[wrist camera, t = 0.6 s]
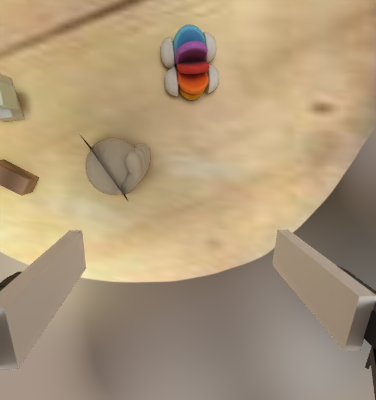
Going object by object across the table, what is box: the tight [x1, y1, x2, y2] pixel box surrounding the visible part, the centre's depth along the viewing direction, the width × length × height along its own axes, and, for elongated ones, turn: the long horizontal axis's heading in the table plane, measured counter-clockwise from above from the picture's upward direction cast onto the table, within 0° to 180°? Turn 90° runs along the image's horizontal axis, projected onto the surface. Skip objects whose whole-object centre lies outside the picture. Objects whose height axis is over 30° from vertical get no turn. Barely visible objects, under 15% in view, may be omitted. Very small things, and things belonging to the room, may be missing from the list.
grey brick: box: [0, 74, 24, 121], centre depth 33 cm, size 6×3×3 cm, turn 8°
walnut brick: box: [0, 160, 39, 195], centre depth 36 cm, size 6×3×3 cm, turn 58°
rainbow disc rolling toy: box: [160, 25, 219, 100], centre depth 32 cm, size 8×10×7 cm
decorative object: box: [80, 135, 150, 201], centre depth 33 cm, size 13×10×10 cm
